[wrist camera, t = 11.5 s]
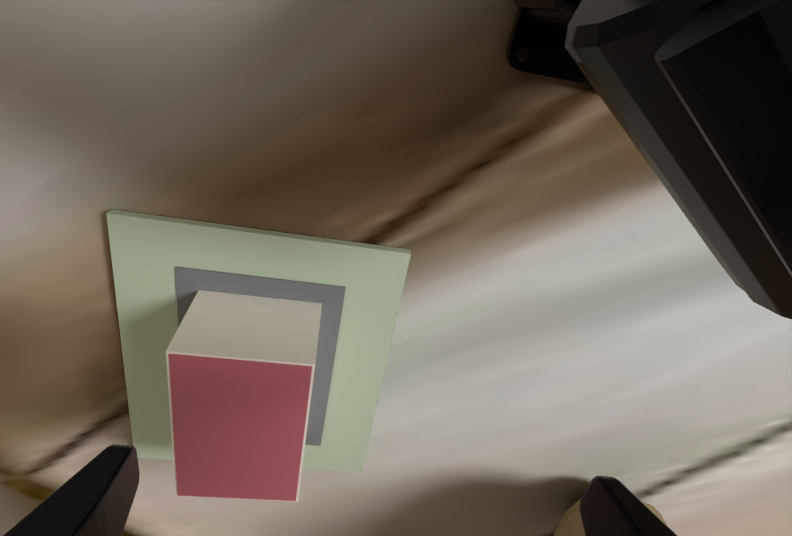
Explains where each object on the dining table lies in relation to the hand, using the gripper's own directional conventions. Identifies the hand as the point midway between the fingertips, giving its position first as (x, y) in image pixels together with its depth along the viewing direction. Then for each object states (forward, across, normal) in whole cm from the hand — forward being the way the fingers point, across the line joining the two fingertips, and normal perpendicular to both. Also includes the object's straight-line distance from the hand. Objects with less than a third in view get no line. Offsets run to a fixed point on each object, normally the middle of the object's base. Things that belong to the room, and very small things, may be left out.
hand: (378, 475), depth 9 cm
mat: (+12, +4, +8) cm, 15 cm away
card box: (+12, +4, +8) cm, 15 cm away
